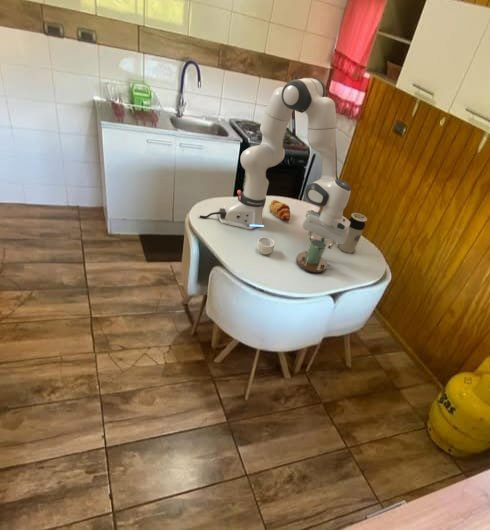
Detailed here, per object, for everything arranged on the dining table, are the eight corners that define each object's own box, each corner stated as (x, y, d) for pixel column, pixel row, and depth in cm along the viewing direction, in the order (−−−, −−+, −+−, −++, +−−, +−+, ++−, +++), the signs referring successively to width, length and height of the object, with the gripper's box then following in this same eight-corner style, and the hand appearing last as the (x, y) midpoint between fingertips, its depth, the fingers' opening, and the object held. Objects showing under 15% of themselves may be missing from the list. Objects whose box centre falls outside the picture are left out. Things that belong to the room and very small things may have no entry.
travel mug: (335, 244, 187) (347, 212, 177) (348, 243, 190) (361, 212, 180) (343, 253, 182) (356, 221, 171) (356, 253, 184) (371, 221, 174)
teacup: (274, 257, 168) (276, 247, 165) (257, 256, 166) (260, 246, 163) (268, 244, 176) (271, 234, 173) (252, 243, 174) (255, 233, 171)
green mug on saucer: (321, 276, 160) (328, 257, 154) (291, 263, 165) (297, 243, 159) (331, 260, 172) (339, 242, 166) (303, 248, 176) (310, 230, 170)
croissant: (266, 209, 212) (262, 198, 207) (282, 202, 213) (279, 190, 207) (281, 228, 196) (278, 217, 191) (298, 220, 197) (296, 208, 191)
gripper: (305, 211, 162) (296, 237, 171) (350, 229, 157) (339, 256, 165) (310, 206, 167) (301, 232, 175) (354, 223, 162) (342, 249, 170)
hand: (319, 244), depth 170 cm, fingers open, 8 cm apart
